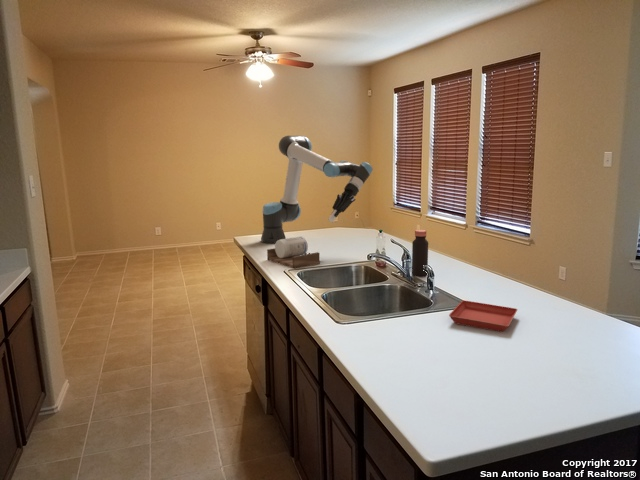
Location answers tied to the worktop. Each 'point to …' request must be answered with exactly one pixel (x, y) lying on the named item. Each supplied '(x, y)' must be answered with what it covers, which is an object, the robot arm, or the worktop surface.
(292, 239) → the supplement tub
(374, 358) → the worktop surface
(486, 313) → the plant saucer
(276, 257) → the walnut tray
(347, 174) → the robot arm
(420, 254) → the bottle
